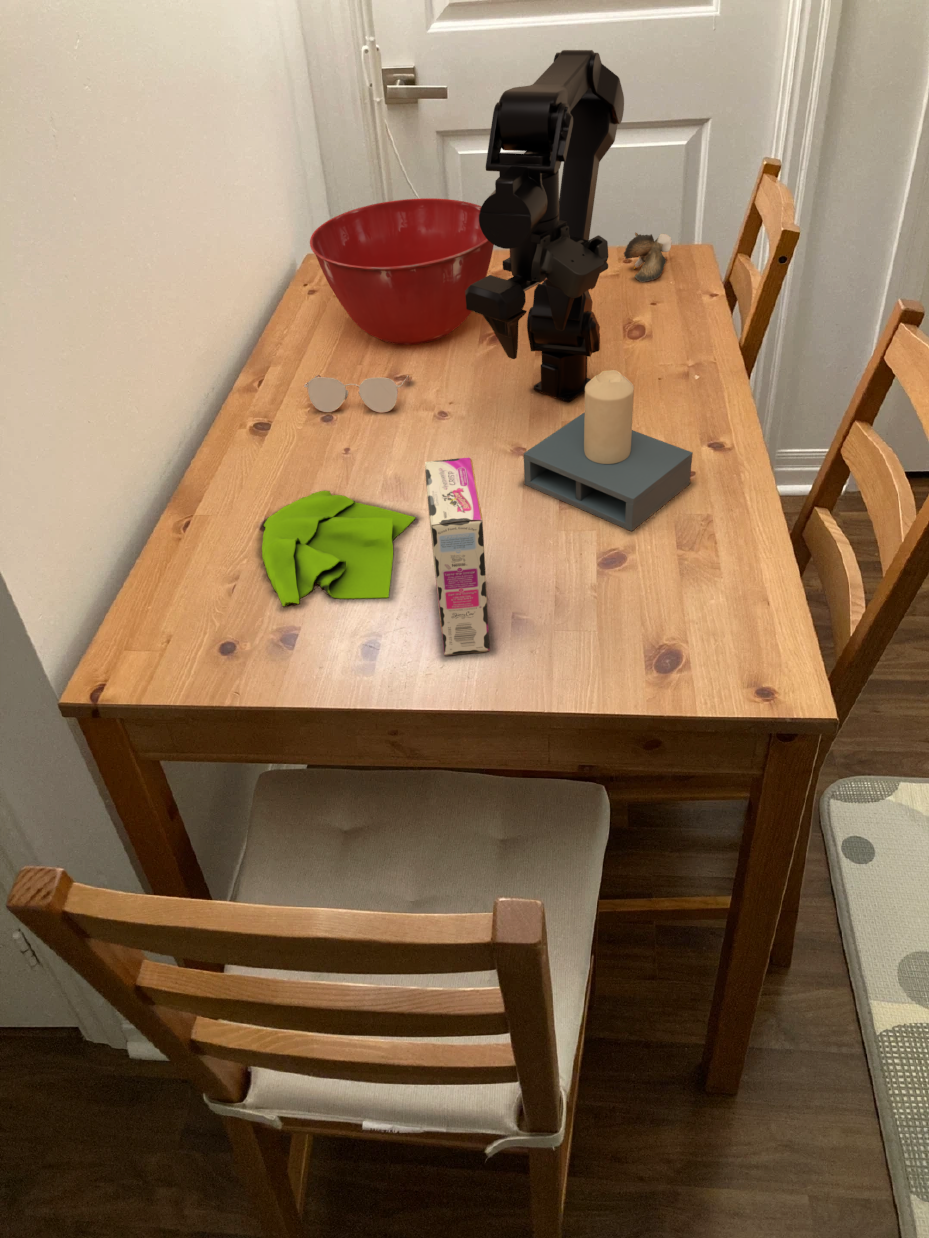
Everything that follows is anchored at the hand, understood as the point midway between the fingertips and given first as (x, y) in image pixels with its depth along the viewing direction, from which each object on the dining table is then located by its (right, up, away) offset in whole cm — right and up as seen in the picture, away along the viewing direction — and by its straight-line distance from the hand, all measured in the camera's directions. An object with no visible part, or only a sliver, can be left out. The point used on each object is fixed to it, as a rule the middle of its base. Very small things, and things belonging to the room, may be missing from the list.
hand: (536, 343), depth 120 cm
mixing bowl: (-17, +13, +36) cm, 42 cm away
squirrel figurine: (+22, +25, +46) cm, 57 cm away
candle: (+8, -14, -4) cm, 17 cm away
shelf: (+8, -18, -1) cm, 19 cm away
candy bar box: (-9, -34, -18) cm, 39 cm away
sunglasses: (-24, -2, +20) cm, 31 cm away
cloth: (-24, -26, -7) cm, 37 cm away
